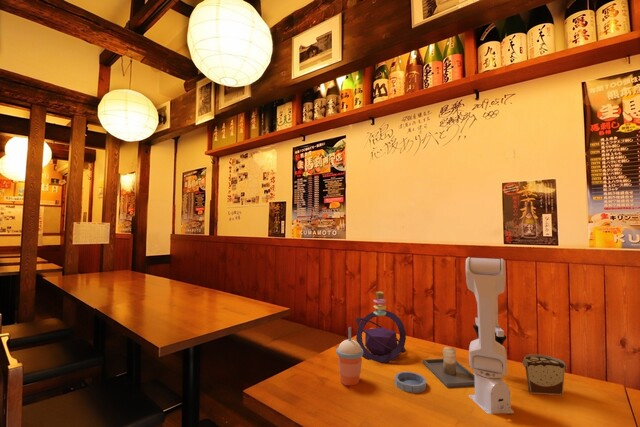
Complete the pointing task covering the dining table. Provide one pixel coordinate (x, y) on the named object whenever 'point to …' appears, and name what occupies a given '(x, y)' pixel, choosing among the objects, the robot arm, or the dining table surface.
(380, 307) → the decorative bottle
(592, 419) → the dining table surface
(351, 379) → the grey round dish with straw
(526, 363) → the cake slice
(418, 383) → the grey round dish
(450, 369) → the dowel pin
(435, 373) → the tray
